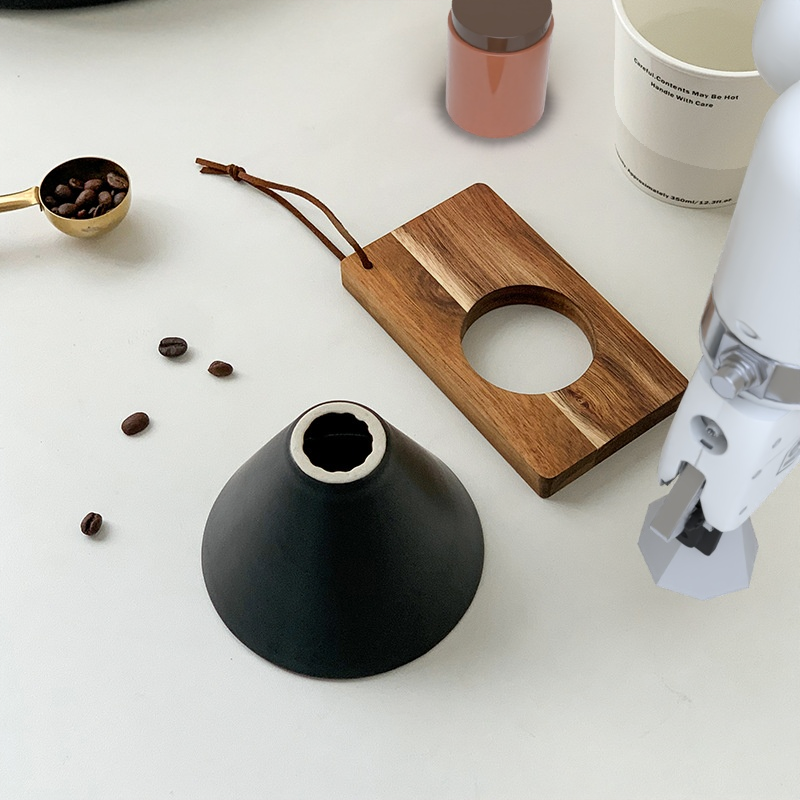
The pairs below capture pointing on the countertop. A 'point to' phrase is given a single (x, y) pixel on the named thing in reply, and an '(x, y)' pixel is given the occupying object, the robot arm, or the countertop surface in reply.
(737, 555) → the flask
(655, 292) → the countertop surface
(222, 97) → the countertop surface
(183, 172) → the countertop surface
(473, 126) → the jar
